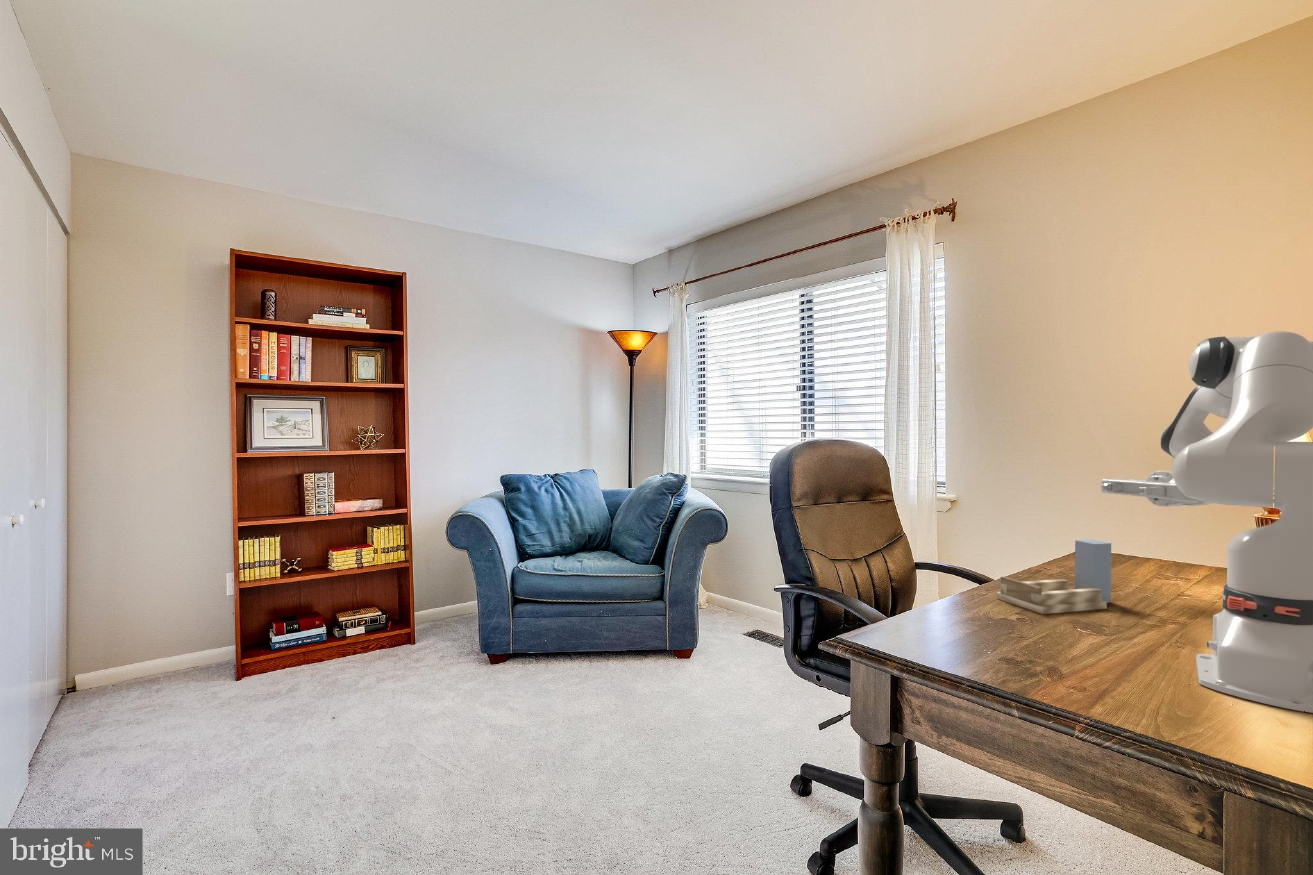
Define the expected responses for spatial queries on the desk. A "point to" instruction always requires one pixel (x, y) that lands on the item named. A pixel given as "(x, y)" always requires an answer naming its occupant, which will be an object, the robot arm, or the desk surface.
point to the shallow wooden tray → (1049, 596)
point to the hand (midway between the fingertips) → (1122, 489)
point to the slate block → (1093, 566)
